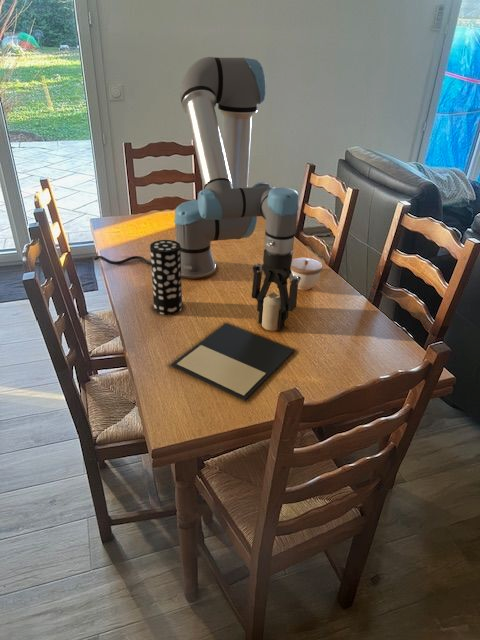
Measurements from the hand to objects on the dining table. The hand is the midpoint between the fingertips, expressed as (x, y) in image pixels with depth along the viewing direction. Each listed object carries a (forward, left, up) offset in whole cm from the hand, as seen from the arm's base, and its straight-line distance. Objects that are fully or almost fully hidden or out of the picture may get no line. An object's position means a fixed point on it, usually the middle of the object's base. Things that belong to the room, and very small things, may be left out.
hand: (271, 324), depth 134 cm
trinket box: (-4, +28, -1) cm, 28 cm away
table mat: (0, -19, 0) cm, 19 cm away
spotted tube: (-30, -10, -1) cm, 32 cm away
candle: (0, 0, -1) cm, 1 cm away
